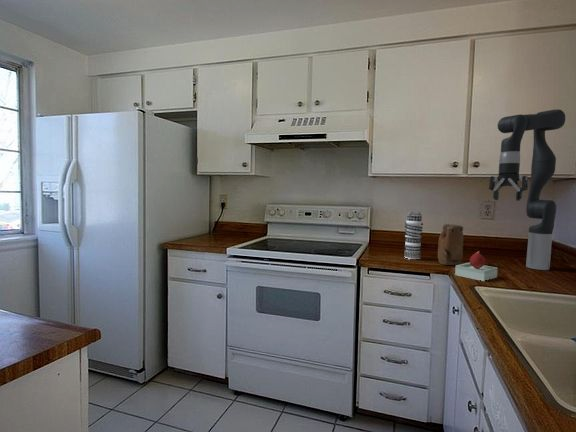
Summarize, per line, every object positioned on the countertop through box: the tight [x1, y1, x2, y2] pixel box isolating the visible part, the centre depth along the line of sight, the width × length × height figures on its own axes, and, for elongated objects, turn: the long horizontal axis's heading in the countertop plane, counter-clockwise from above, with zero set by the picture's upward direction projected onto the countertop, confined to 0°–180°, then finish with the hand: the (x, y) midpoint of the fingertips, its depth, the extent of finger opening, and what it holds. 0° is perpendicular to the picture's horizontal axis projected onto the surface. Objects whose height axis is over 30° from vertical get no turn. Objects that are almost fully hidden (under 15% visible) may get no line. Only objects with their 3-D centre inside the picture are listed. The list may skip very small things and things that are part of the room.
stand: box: [454, 262, 499, 282], centre depth 148 cm, size 12×12×4 cm
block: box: [437, 223, 464, 266], centre depth 170 cm, size 11×8×20 cm
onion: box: [469, 250, 486, 269], centre depth 147 cm, size 6×6×8 cm
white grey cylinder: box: [403, 211, 424, 260], centre depth 183 cm, size 9×9×25 cm
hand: (506, 200), depth 149 cm, fingers open, 8 cm apart
